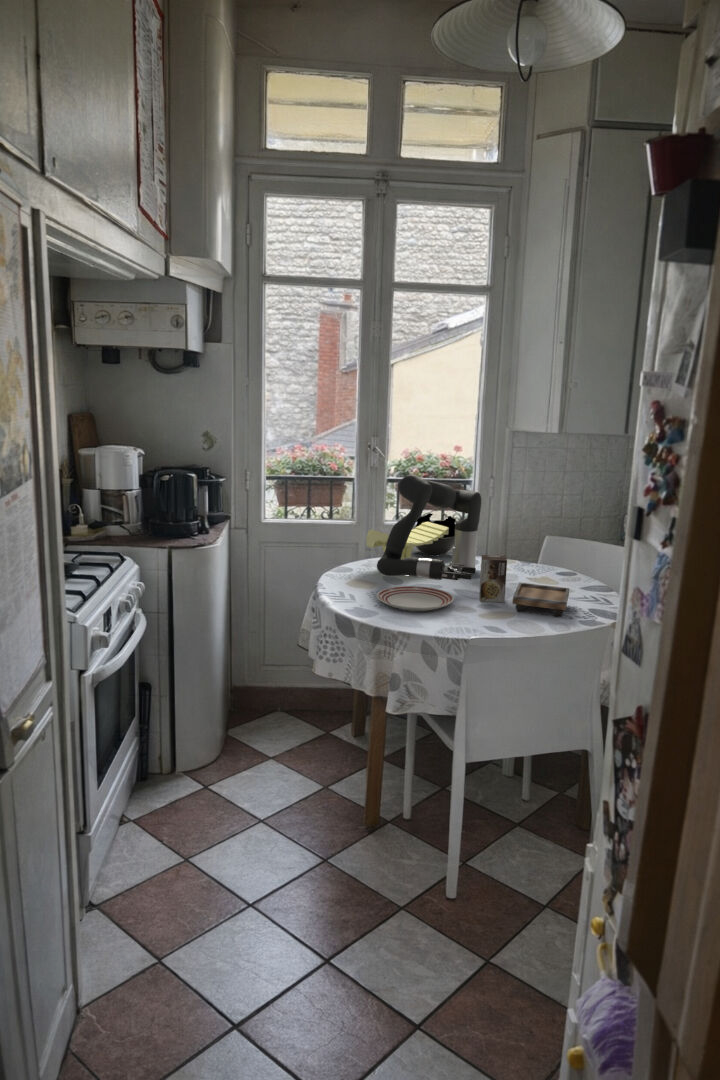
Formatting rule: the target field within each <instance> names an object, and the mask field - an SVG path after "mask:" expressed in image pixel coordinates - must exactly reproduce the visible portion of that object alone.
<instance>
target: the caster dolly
mask: <svg viewBox="0 0 720 1080" xmlns="http://www.w3.org/2000/svg"><path fill="white" fill-rule="evenodd" d="M569 596H570V588H569V587H561V586H552V585H543V584H536V583H529V582H528V583H526V582H518V585H517V587H516V589H515V591H514V594H513V596H512V604H513V605H515V610H516V611H517V612H519V613H520V612H524V610H525V609H526V606H527V607H529V606H530V607H535V608H536V607H537V608H542V609H543V608H544V609H552V612H553V613H552V614H553V615H554V616H555V617H561V616H563V613H564V611H566V610H567V606H568V605H567V604H568V602H569V601H568V600H569V598H570V597H569Z"/></svg>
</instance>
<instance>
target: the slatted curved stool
mask: <svg viewBox="0 0 720 1080" xmlns="http://www.w3.org/2000/svg"><path fill="white" fill-rule="evenodd" d="M431 522H432V521H431ZM431 522H424V523H422V524H421V525H420V526H417V527H416V526H414V528H415V529H414V528H413V529H412V530H411V533H410V535H409V537H408V540H407V542H406V545H405V547H404V549H403V552H402V556H401V559H404V558H406V557H412V551H413V548H415V547H416V546H419V545H424V544H432V543H433V541H437V540H438V537H439V538H442V537H443V534H444V535H447V534H448V532H449V528H448V527H445V526H441V525H438V524H434V523H431ZM388 537H389V534H388V533H384V532H382V531H378V530H375V529H369V530H368V531H367V535H366V547H368V548H372V549H374V548H377V547H382V551H383V553H384V552H385V549H386V543H387V540H388ZM415 545H416V546H415Z"/></svg>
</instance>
